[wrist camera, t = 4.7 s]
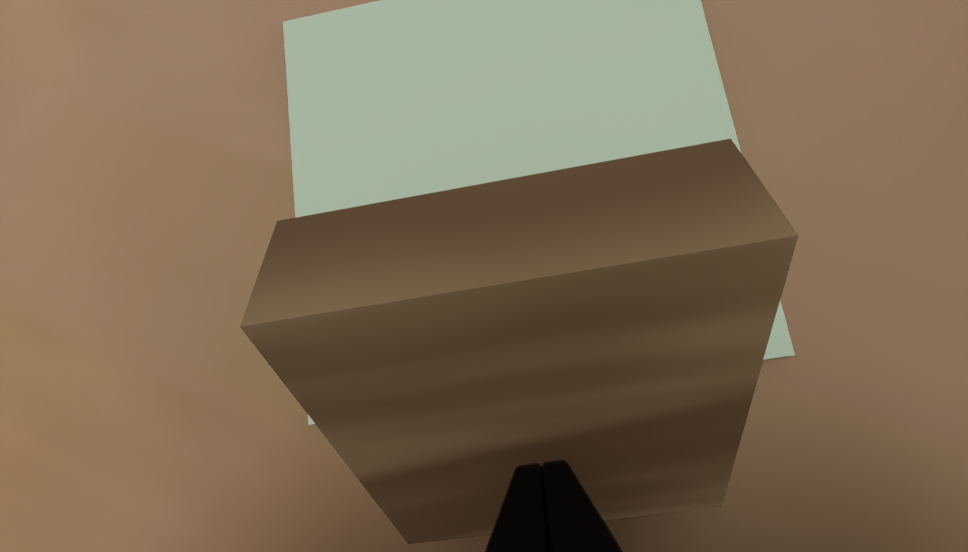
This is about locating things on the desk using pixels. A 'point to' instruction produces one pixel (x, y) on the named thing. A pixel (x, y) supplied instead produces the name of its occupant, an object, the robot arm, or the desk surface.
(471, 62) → the green mat
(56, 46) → the desk surface
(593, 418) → the walnut plaque
